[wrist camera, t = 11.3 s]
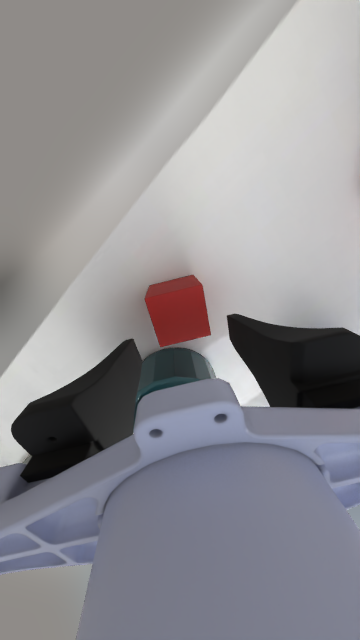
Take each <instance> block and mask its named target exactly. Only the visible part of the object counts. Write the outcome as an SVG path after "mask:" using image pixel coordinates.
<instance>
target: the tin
mask: <svg viewBox="0 0 360 640" xmlns="http://www.w3.org/2000/svg"><path fill="white" fill-rule="evenodd" d="M204 379H216V376H215V373H214V371H213V368H212V367H211V365H210V364H209V362H208V361H207V360H206V359H205V358H204V357H203V356H202V355H200V354H199V353H197V352H195V351H192V350H189V349H185V348H168V349H163V350H160V351H157V352H155V353H153V354H151V355H150V356H148V357H147V358H146V359H145V360H144V361H143V362H142V369H141V376H140V381H139V386H138V391H137V396H136V402H135V412H134V424H135V418H136V412H137V406H138V403H139V402H140V401H141V399H142V398H143V396H145V395H147V394H150V393H152V392H154V391H158V390H162V389H166V388H170V387H174V386H179V385H183V384H187V383H191V382H195V381H200V380H204ZM133 430H134V427H133ZM133 433H134V431H133Z"/></svg>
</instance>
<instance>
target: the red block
mask: <svg viewBox="0 0 360 640" xmlns="http://www.w3.org/2000/svg"><path fill="white" fill-rule="evenodd" d="M145 302H146V305H147V308H148V311H149V314H150V317H151V320H152V323H153V326H154V330H155V333H156V336H157V339H158V342H159V345H160V347H163V346H167V345H172V344H176V343H180V342H184V341H188V340H193V339H197V338H201V337H205V336H209V335H211V331H210V326H209V320H208V314H207V309H206V303H205V297H204V291H203V286H202V284H201V283H200V282H199V281H198V279H197V278H196V277H195V276H194V275H190V276H186V277H182V278H178V279H174V280H170V281H166V282H162V283H158V284H154V285H150V286H149V288H148V291H147V293H146V296H145Z"/></svg>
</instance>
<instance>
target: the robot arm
mask: <svg viewBox="0 0 360 640" xmlns="http://www.w3.org/2000/svg"><path fill="white" fill-rule="evenodd" d="M227 320H228V328H229V336H230V340H231V342H232V344H233V346H234V348H235V350H236V351H237V353H238V354H239V355H240V357H241V358H242V360H243V361H244V362H245V364H246V365H247V366H248V368H249V369H250V371H251V372H252V374H253V375H254V377H255V379H256V381H257V382H258V384H259V386H260V388H261V390H262V391H263V393H264V395H265V397H266V399H267V401H268V403H269V405H270V407H241V406H240V404H239V402H238V400H237V398H236V396H235V393H234V391H233V389H232V388H231V386H230V384H229V383H228V382H226V381H224V380H221V379H219V378H218V379H204V380H200V381H195V382H191V383H187V384H183V385H179V386H174V387H170V388H166V389H162V390H158V391H154V392H152V393H150V394H147V395H145V396H143V398H142V399H141V401H140V402H139V403H138V406H137V412H136V418H135V424H134V412H135V402H136V396H137V391H138V386H139V381H140V376H141V369H142V359H141V357H140V354H139V352H138V349H137V347H136V344H135V342H134V339H129V340H125V341H124V342H122V343H121V344H120V345H119V346H118V347H117V348H116V349H115V350H114V351H113V352H112V353H111V354H109V355H108V356H107V357H106V358H105V359H104V360H103V361H101V362H100V363H99V364H98V365H97V366H95V367H94V368H93V369H91V370H90V371H88V372H87V373H86V374H84V375H83V376H81V377H79V378H78V379H76V380H75V381H73V382H71V383H70V384H68V385H66V386H64V387H62V388H60V389H58V390H57V391H55V392H53V393H51V394H48V395H46V396H44V397H42V398H40V399H37V400H35V401H33V402H31V403H29V404H28V405H27V407H26V408H25V409H24V410H23V411H22V412H21V414H20V415H19V416H18V417H17V418H16V420H15V421H14V422H13V424H12V426H11V432H12V435H13V437H14V439H15V440H16V441H17V442H18V443H19V444H20V445H21V446H22V447H23V448H24V449H25V450H26V451H27V452H28V453H29V454H30V455H31V456H32V457H31V459H30V460H29V462H28V464H24V463H17V464H13V465H9V466H5V467H0V575H1V574H6V573H12V572H19V571H26V570H34V569H42V568H52V567H63V566H75V565H86V564H92V569H91V574H90V578H89V583H88V587H87V592H86V596H85V600H84V605H83V609H82V614H81V618H80V623H79V628H78V631H77V636H76V640H360V529H359V528H358V527H357V525H356V524H355V522H354V521H353V520H352V518H351V516H350V515H349V513H348V512H347V509H350V508H353V507H356V506H359V505H360V336H359V335H357V334H355V333H353V332H351V331H349V330H347V329H345V328H322V329H317V328H295V327H286V326H279V325H274V324H269V323H265V322H261V321H258V320H254V319H251V318H248V317H245V316H242V315H239V314H231V315H227ZM133 427H134V430H133ZM133 431H134V434H133Z"/></svg>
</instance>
